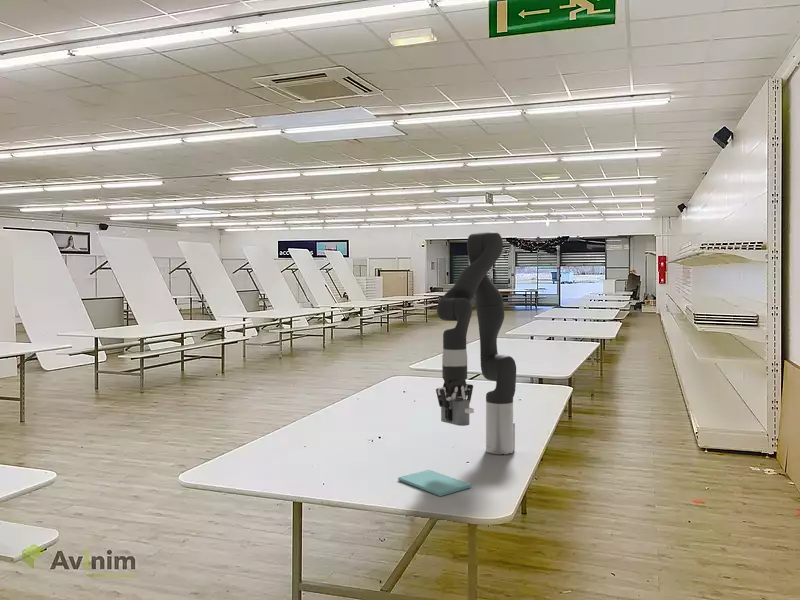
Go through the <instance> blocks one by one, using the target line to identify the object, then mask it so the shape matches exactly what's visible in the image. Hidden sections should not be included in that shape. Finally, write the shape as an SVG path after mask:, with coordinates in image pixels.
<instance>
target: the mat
mask: <svg viewBox="0 0 800 600" xmlns="http://www.w3.org/2000/svg"><path fill="white" fill-rule="evenodd" d="M397 480H398V481H399V482H402V483H405V484H407V485H410V486H412V487H416V488H417V489H421V490H423V491H426V492H428V493H431V494H433V495H435V496H439V497H441V496H442V497H443V496H446V495H448V494H449V495H450V494H453V493H455V492H460V491H462V490H467V489H470V488H472V483H469V482H466V481H463V480H460V479H457V478H455V477H451V476H449V475H447V474H443V473H440V472H437V471H434V470H432V469H426V470H423V471H418V472H416V473H414V472H413V473H411V474H410V473H409V474H406V475H402V476H398V478H397Z"/></svg>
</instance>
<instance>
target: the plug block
mask: <svg viewBox="0 0 800 600" xmlns="http://www.w3.org/2000/svg"><path fill="white" fill-rule="evenodd" d="M449 398H451V397H449ZM448 405H449V401H448ZM474 413H475V410H474V408H473V407H472V408H471V407H470V404H469V400H465V399H458V398H455V401H453V406H452V421H451V422H449V421H446V419H445V408H443V407H440V421H441V422H443V423H446V424H450V425H455V426H460V427H462V426H463V427H464V426H465V427H466V426H469V425H470V414H474Z"/></svg>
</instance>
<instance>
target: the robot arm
mask: <svg viewBox="0 0 800 600" xmlns="http://www.w3.org/2000/svg"><path fill="white" fill-rule="evenodd" d="M466 241H467V243H466V249H467V254H468V255H467V256H468V261H469V265H468V266H467V267H465V268H464V269H463V270H462V271H461V272H460V273H459V275H458V277H457V279H456V280H455V283H454V284H453V286H452V287H451V288H450V289H449V290H448V291H446V293H445V294H444V295H443V296H442V297H441V298H440V299H439V301H438V303H437V305H436V306H437V307H436V314H437V317H438V318H439V319H440V320H441V321H444V322H445V321H446V322H456V325H455V326H454V327H453V328H449V329H448V328H447V329H446V330H444V331H443V333H442V334H443V335H442V345H443V346H442V350H443V351H442V360H441V361H442V363H441V364H442V369H441V371H442V374H441V375H442V380H443V381H444V382H443V385H442V387H437V388H436V389H435V393H436V396H437V401H438V404H439V407H440V408H441V407H443V408H445V419H446V421H449V422H451V421H452V406H453V401H455V398H458V399H465V400H469V405H470V403H471V401H472V395H473V389H474V385H473V384H470V383H467V381H466V380H467V379H468V351H467V334H468V329H469V325H470V321H471V318H472V314H473V305H472V303H471V301H472V300H473V298H474V299H475V308H476V316H477V323H478V333H479V347H480V351H479V352H480V353H479V354H480V356H479V357H480V358H479V359H480V371H481V374H482V376H483V377H484V378H485V379H486V380H488V381H491V382H492V381H493V382H495V388H494V390H491V391H488V392H487V393H486V394H485V451H486V452H487V453H488V454H491V455H500V454H501V455H502V454H504V455H509V453H510V454H512V453H514V451H513V450H515V451H516V423H515V422H514V397H515V393H516V388H517V387H516V384H517V382H516V381H517V365H516V361H515V359H514V358H513V356H511V355H506V354H505V355H504V354H499V353H498V347H497V346H498V344H497V342H498V341H497V339H498V335H499V332H500V330H501V328H502V325H503V323H504V320H505V306H504V298H503V296H502V293H501V292H500V290H499V288H498V287H497V286H496V285H495V284H494V282H493V281H492V279H491V278H490V276H489V275H488V272H489V271H490V270H491V269H492V267H493V266H494V265H495V263H496V262H497V261H498V260H499V258H500V257H501V255H502V253H503V249H504V242H503V238H502V236H501V234H500V233H499V232H497V231H482V232H476V233H475V232H474V233H471V234H469V235H468V237H467V240H466ZM449 397H451V398H449ZM448 401H449V405H448ZM502 456H503V455H502Z"/></svg>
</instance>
